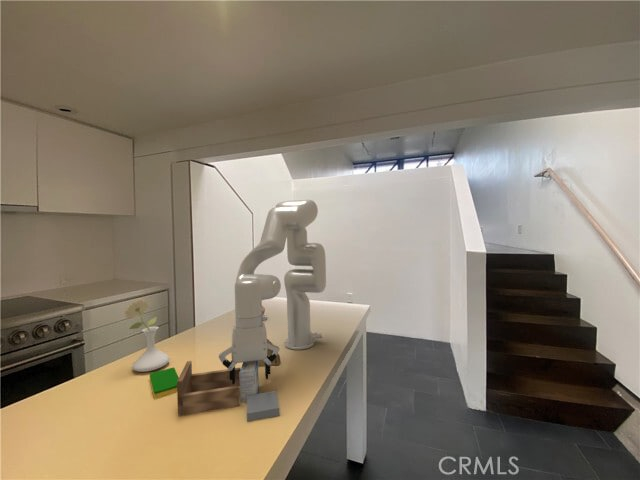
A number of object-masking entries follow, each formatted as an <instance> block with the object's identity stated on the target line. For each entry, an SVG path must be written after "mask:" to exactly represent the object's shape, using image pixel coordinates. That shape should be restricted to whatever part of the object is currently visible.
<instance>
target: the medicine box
mask: <svg viewBox="0 0 640 480" xmlns="http://www.w3.org/2000/svg"><path fill="white" fill-rule="evenodd" d="M239 376H240V386H239V393H240V403H244V402H245V403H247V395H253V394H259V387H260V385H259V384H260V382H259V381H260V380H259V379H260V377H259V366H258V360H257V361H250V362H242V365H241V370H240V375H239Z"/></svg>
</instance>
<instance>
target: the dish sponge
mask: <svg viewBox="0 0 640 480" xmlns="http://www.w3.org/2000/svg"><path fill="white" fill-rule="evenodd" d="M179 377H180V376H179V375H178V372H177V371H176V368H175V367H169V368H166V369H162V370H158V371H155V372H151V373H149V381H150V382H149V383H150V386H151V391H152V396H153V399H154V400H156V399H160V398H163V397H167V396H169V395H172V394H175V393H176V394H177V381H178V379H179Z"/></svg>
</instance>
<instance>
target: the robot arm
mask: <svg viewBox="0 0 640 480" xmlns="http://www.w3.org/2000/svg"><path fill="white" fill-rule="evenodd" d="M318 214H319V213H318V205H317V204H316V202H315V201H314V200H313V199H302V200H287V201H281V202H280V201H279V202H278V203H277V204H276V205H275V207H272V208H271V209H269V211H268V212H267V216H266V218H265V222H264V223H265V224H264V226H263V229H262V234H261V237H260V241H259V243H258V244H257V245H256V246H255V247H253V248H252V250H250V251H249V253H248V254H247V255H246V256H245V257H244V259H243V260H242V261H241V263H240V265H239V269H238V271H237V275H236V279H235V283H234V308H235V309H234V310H235V311H234V312H235V313H234V314H235V315H234V316H235V324H234V325H233V327H232V331H231V332H232V333H231V345H230V347H228V348H227V349H225V350H223V351H222V352H220V353H219V355H218V360H220V362H221V363H222V366H224V367H225V368H226V369H228V370H229V371H230V380H232V384H234V383H235V368H236V365H237V364H241V363H242V364H243V362H250V361H257V360H264V361H265V366H264V369H265V370H264V371H265V373H264V375H265V379H266V380H268V379H269V375H271V366H272V365H271V363H272V362H273V360H274V359H275V358H276V356H277V354H279V351H280V347H279V346H278V345H276V344H273V343H272V342H271V343H272V344H271V343H268V342H267V339H268V338H267V337H268V336H267V327H266V324H265V321H267V320H268V316H267V315H265V314H264V315H262V306H263V304H262V302H263V301H265V300H271V299H273V298H275V297H278V295H279V293H280V292H281V287H282V286H281V285H282V284H281V281H280V279H279V278H278V277H277V276H276V275H273V274H261V273H260V274H259V273H258V274H256V273H254V272H255V271H256V269H257V268H258V267H259V265H260V264H262V263H263V262H265V261H267V260H269V259H271V258H273V257H275V256H277V255H279V254H281V253H283V252H284V249H285V246H286V252H287V253H286V254H287V261H288V263H289V264H290V265H291V266H296V267H297V266H298V267H299V266H300V267H311V268H312V269H311V268H310V269H309V268H307V269H306V268H293V269H289V270H287V272H285V274H284V278H283V283H284V287H285V288H284V289H285V292H286V293H285V294H286V303H287V304H286V305H287V315H286V316H287V339H285V340H284V342H283V343H284V345H283V346H285V347H286V348H287V349H289V350H295V351H296V350H297V351H298V350H306V349H309V348H311V347H313V346H314V345H315V339H323V335H322V333H318V332H312V330H311V302H310V298H309V297H308V295H307V293H311V294H312V293H314V294H315V293H316V294H319V293H323V292H324V291H325V288H326V286H327V270H326V269H327V266H326V265H327V263H326V262H327V261H326V250H325V248H324V246H323V245H322V244H321V243H319V242H308V232H307V231H308V230H307V227H308V226H310V224H312V223H313V222H314V221H315V220H316V219H317V217H318ZM267 348H268V349H271V350H273V353H272V354H271V355H270V356H268V355H267V353H268V349H267ZM230 354H231V360H229V359H228V358H226V357H227V356H229V355H230Z"/></svg>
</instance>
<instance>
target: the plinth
mask: <svg viewBox="0 0 640 480" xmlns="http://www.w3.org/2000/svg"><path fill="white" fill-rule="evenodd" d="M279 416H280V404H279V398H278V393H277V390H273V391H267V392H261V393H260V392H259V393H258V394H253V395H247V402H246V422H252V421H257V420H258V421H259V420H262V419H263V420H264V419H268V418H275V417H279Z"/></svg>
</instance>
